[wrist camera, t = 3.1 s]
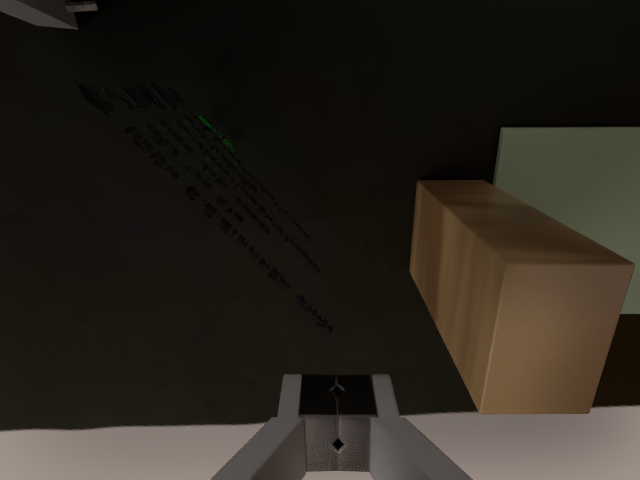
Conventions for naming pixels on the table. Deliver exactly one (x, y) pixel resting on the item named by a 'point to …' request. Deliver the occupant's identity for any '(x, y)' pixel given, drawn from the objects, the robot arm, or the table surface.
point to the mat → (580, 184)
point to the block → (515, 297)
